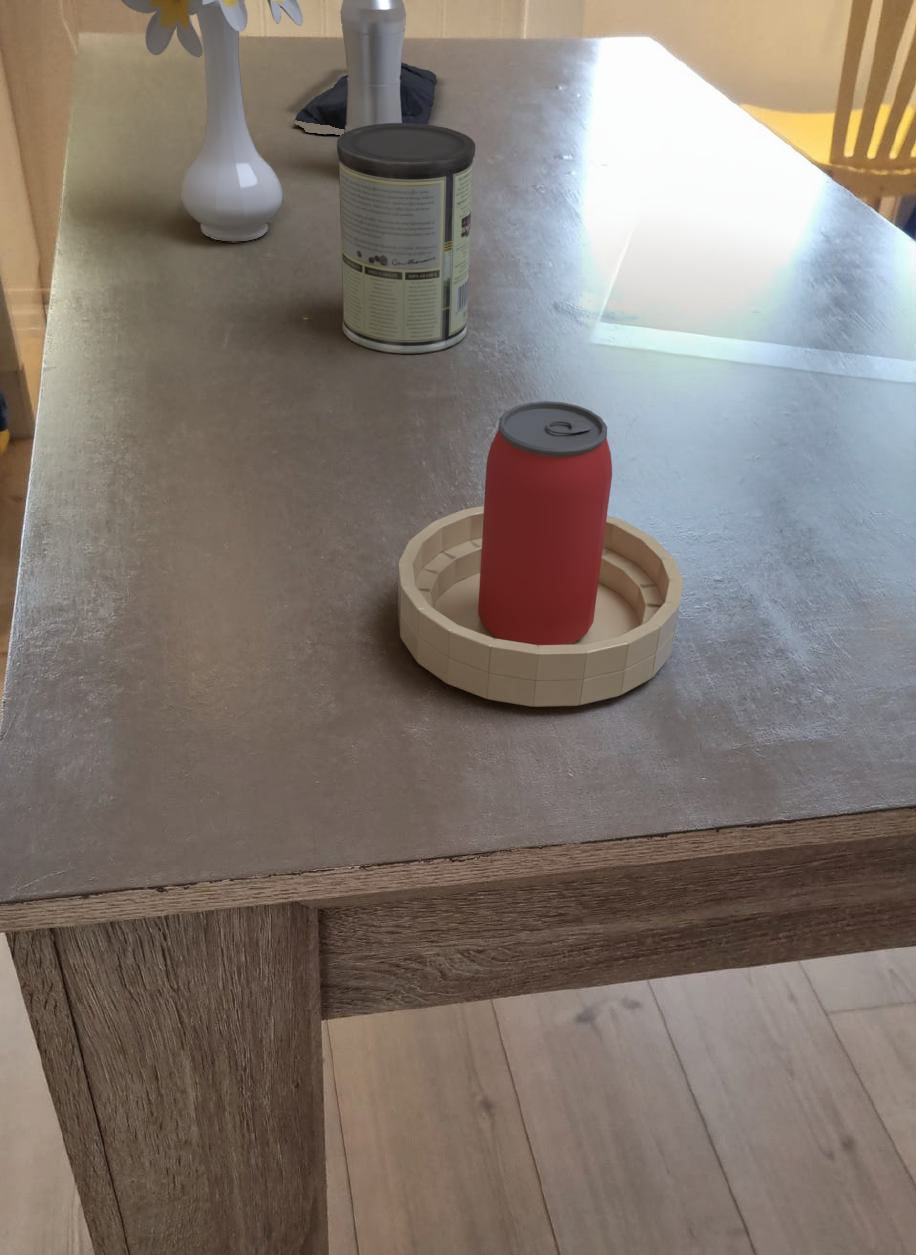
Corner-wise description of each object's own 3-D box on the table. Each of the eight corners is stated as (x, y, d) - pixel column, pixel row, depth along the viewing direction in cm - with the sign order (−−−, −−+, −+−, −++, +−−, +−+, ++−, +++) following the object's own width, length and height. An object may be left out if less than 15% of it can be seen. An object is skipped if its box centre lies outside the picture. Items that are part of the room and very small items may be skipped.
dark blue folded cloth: (455, 95, 161) (457, 52, 158) (420, 145, 145) (421, 98, 141) (334, 85, 162) (333, 41, 159) (287, 133, 146) (284, 86, 143)
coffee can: (334, 307, 109) (330, 122, 100) (455, 303, 111) (462, 121, 101) (348, 357, 102) (344, 163, 92) (478, 353, 103) (487, 161, 94)
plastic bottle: (357, 189, 132) (353, -44, 119) (334, 169, 137) (328, -57, 124) (415, 183, 135) (419, -46, 121) (391, 164, 139) (391, -59, 126)
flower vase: (134, 262, 115) (91, -78, 98) (200, 197, 129) (173, -111, 112) (277, 277, 114) (259, -65, 97) (329, 210, 127) (320, -100, 110)
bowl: (683, 581, 79) (694, 523, 77) (656, 737, 68) (667, 674, 65) (434, 544, 81) (435, 486, 79) (366, 688, 70) (365, 626, 67)
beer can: (601, 655, 72) (628, 454, 64) (482, 657, 72) (495, 454, 63) (583, 590, 77) (606, 396, 69) (472, 591, 76) (482, 396, 68)
